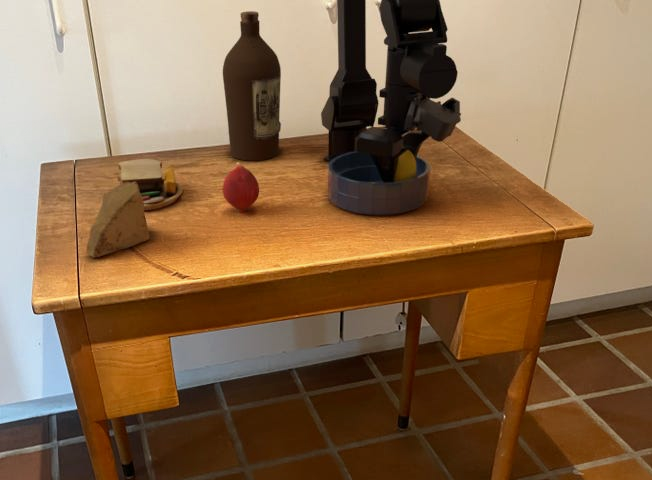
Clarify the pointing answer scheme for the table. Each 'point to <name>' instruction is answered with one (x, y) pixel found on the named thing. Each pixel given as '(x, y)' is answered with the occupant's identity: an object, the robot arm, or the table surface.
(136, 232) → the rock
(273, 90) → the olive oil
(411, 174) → the lemon
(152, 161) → the toy sandwich meal
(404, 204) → the bowl
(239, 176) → the onion
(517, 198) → the table surface
